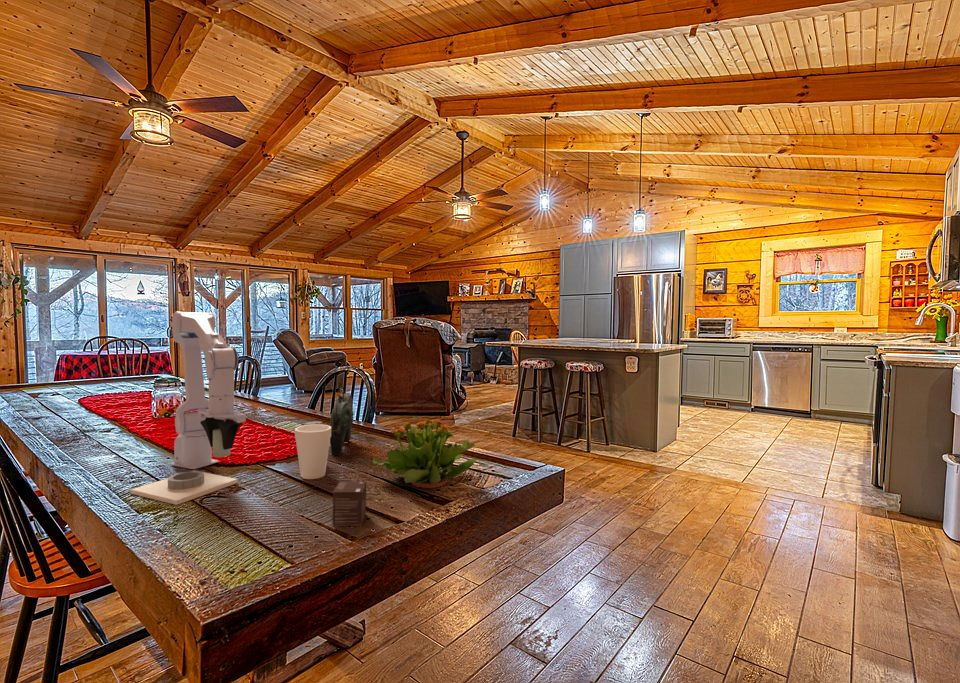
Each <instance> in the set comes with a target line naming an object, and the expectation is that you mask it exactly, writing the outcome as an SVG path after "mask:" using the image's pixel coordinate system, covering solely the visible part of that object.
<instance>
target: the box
mask: <svg viewBox="0 0 960 683" xmlns="http://www.w3.org/2000/svg"><path fill="white" fill-rule="evenodd" d="M332 494H333V495H332V496H333V497H332V526H333V527H341V526H362V525H363V522H364V519H365V517H366V512H367V510H366V509H367V482H366V481H339V482H338V483H337V484H336V487H335V488H334V489H333V491H332Z"/></svg>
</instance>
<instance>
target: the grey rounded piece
mask: <svg viewBox="0 0 960 683" xmlns="http://www.w3.org/2000/svg"><path fill="white" fill-rule="evenodd" d="M231 449H232V448H230V449H227V450H224V449H223V442H222V434H221V430H220V429H215V430H213V447H212V457H213V458H224V457H228V456H231Z"/></svg>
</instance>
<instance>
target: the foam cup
mask: <svg viewBox="0 0 960 683" xmlns="http://www.w3.org/2000/svg"><path fill="white" fill-rule="evenodd" d="M322 424H323V423H322ZM322 424H312V425H304V424H303V425H299V426H297V427H295V428H294V439H295V442H296V451H297V458H298V465H299V473H300V478H301V477H302V479H306V480H314V479H320V478H323V477H325V476H326V470H327V463H328V456H329V450H330V445H331V444H330V437H331V426H330V425H328V424H323V425H322Z"/></svg>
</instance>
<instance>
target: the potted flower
mask: <svg viewBox="0 0 960 683" xmlns="http://www.w3.org/2000/svg"><path fill="white" fill-rule="evenodd" d="M434 429H435V431H433V430H434ZM392 434H393V435H394V436H396V438H397V440H396V442H398V443H399V445H396V447H397V448H395V449H394V450H392V449H390V450H388V451H387V452H385V455H386V457H387V459H385V461H383V462H380V460H379V459H378V457H374V458H373V459H372V463H373V465H378V466H381V467H385V469H387V470H390V472H392V473H394V474H398V475H403V478H404V483H406V484H408V483H409V484H410V483H412V484H413V485H412V484H411V485H412V486H414V485H415V486H414V487H417V488H419V487H422V489H437V488H441V487H443V485H444V486H445V485H446V484H447V482H448V480H450V479H453V478H456V477H458V476H460V475H462V474H463V473H465V472H466V471H468V470H469V469H470V468H471V467H472V466H474V464H475V463H476V461H477V460H476V459H475V458H471V459H468V460H465V461H463V462H462V463H459V464H458V465H457V466H455V465H454V463H455V462H456V461H457V460H458V459H460V458H462V457H463V456H464V454H462V453H464V452H465V451H468V450H470V449H473V448H474V447H475V443H472V442H470V441H468V440H464V441H462V444H460V443H457V442H455V443H454V444H453V443H448V444H446V443H447V441H448V439H449V438H450V437H451V438H452V437H453V438H454V435H453V433H452V430H449V426H448V425H447V424H444V422H443V421H442V420H440V419H437V420H431V419H427V418H425V419H424V420H419V421H418V422H417V423H416V425H415V426H413V425H412V424H411V422H408V421H407V422H404V424H403V427H402V426H401V427H400V426H394V427H393V430H392ZM405 436H406V441H407V448H408V449H407V448H406V447H405V446H404V445H403V443H402V440H401V438H405ZM445 445H446V446H445ZM453 465H454V466H453ZM446 473H447V474H446ZM440 486H441V487H440ZM436 487H437V488H436Z"/></svg>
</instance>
